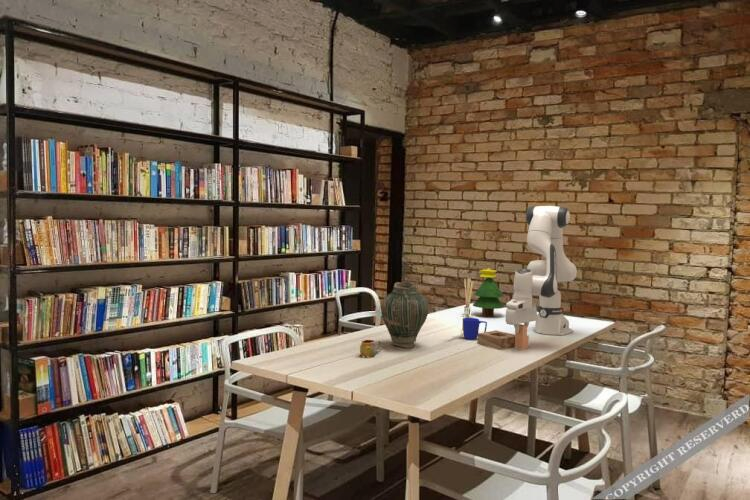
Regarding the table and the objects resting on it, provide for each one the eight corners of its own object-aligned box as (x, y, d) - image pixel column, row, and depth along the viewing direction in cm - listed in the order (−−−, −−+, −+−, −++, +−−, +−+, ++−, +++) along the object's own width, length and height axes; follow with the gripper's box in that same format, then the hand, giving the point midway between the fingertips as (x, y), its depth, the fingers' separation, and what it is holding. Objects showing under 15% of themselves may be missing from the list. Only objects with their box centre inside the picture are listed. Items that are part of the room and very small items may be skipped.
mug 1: (366, 358, 242) (367, 343, 241) (356, 355, 247) (357, 340, 246) (387, 354, 250) (387, 339, 249) (376, 351, 255) (377, 336, 255)
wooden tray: (495, 340, 284) (496, 330, 283) (518, 345, 273) (519, 335, 273) (477, 343, 275) (477, 333, 274) (500, 349, 264) (500, 339, 264)
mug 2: (486, 341, 280) (487, 321, 279) (461, 339, 283) (462, 320, 282) (486, 337, 288) (487, 318, 288) (462, 336, 291) (463, 317, 290)
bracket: (520, 346, 272) (521, 323, 272) (528, 347, 269) (529, 325, 268) (514, 347, 270) (515, 324, 269) (522, 349, 266) (523, 326, 265)
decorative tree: (496, 320, 338) (499, 270, 335) (467, 316, 348) (469, 267, 346) (508, 315, 354) (510, 267, 352) (479, 311, 364) (481, 265, 362)
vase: (396, 338, 282) (398, 278, 280) (435, 345, 270) (437, 282, 268) (370, 346, 264) (372, 282, 262) (411, 354, 252) (413, 287, 249)
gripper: (529, 300, 276) (528, 328, 277) (503, 304, 263) (502, 333, 264) (540, 302, 271) (539, 330, 272) (514, 306, 259) (513, 335, 259)
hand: (521, 332), depth 268 cm, fingers open, 4 cm apart
